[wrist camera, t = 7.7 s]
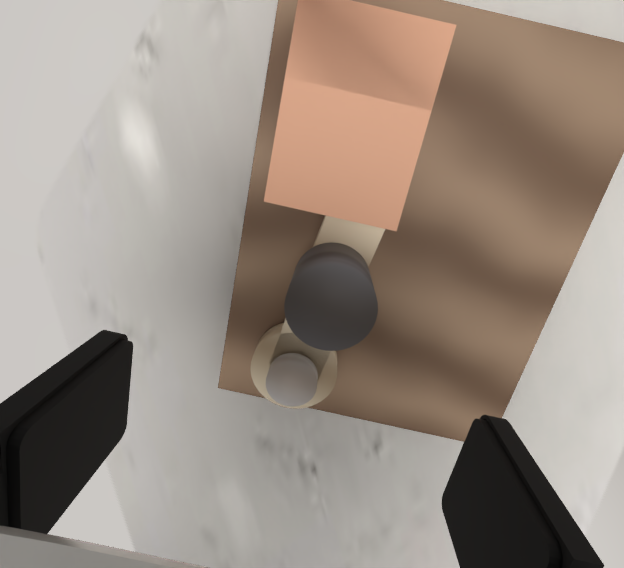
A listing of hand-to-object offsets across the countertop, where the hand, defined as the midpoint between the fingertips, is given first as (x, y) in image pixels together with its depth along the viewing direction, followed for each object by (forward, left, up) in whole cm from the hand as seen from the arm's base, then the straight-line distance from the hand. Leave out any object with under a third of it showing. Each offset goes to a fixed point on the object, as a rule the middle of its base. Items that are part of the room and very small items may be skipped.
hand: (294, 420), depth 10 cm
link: (-1, -1, -12) cm, 12 cm away
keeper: (+8, 0, -13) cm, 15 cm away
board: (+3, -4, -14) cm, 15 cm away
